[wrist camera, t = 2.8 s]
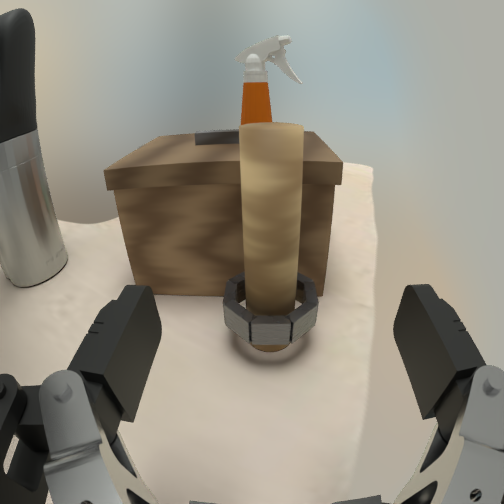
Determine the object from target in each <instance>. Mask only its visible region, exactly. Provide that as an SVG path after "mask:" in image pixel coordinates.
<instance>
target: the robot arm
mask: <svg viewBox="0 0 504 504" xmlns="http://www.w3.org/2000/svg"><path fill="white" fill-rule="evenodd" d="M34 67H35V28H34V23H33V19H32V17H31V15H30V13H29V12H28V11H27V10H25V9H22V8H21V9H15V10H12V11H9V12H7V13H4V14H2V15H0V264H1V266H2V269H3V271H4V273H5V276H6V278H10V279H11V282H12V283H13V284H14V285H16V286H19V287H27V286H32V285H35V284H38V283H41V282H43V281H45V280H47V279H49V278H50V277H52V276H54V275H55V274H56V273H57V272H59V271H60V270H61V269H62V268H63V266H64V265H65V264H66V262H67V259H68V255H67V251H66V248H65V245H64V242H63V239H62V235H61V232H60V228H59V225H58V221H57V218H56V214H55V211H54V207H53V203H52V199H51V195H50V191H49V187H48V183H47V178H46V173H45V168H44V163H43V158H42V153H41V147H40V142H39V136H38V130H37V122H36V99H35V98H36V97H35V77H34V73H35V68H34ZM393 332H394V338H395V341H396V344H397V346H398V349H399V352H400V354H401V357H402V359H403V363H404V365H405V368H406V371H407V374H408V376H409V379H410V382H411V385H412V388H413V391H414V394H415V397H416V400H417V403H418V406H419V409H420V412H421V415H422V419H423V420H424V419H429V418H433V417H436V419H437V422H438V423H437V424H436V425H435V427H434V429H433V431H432V434H431V436H430V439H429V441H428V444H427V446H426V448H425V451H424V453H423V455H422V457H421V460H420V462H419V464H418V466H417V468H416V470H415V472H414V474H413V476H412V477H411V479H410V481H409V482H408V483H407V484H406V486H405V487H404V488H403V489H402V491H401V492H400V494H399V495H398V496H397V498H396V500H395V502H394V503H393V504H500V503H501V504H504V372H503V371H502V370H501V369H499V368H498V367H495V366H491V365H486V363H485V361H484V360H483V358H482V356H481V354H480V352H479V350H478V349H477V347H476V345H475V344H474V342H473V340H472V338H471V336H470V335H469V333H468V332H467V331H466V328H465V326H464V325H463V323H462V322H460V318H459V317H458V315H457V313H456V312H455V310H454V309H453V308H452V307H451V306H450V305H449V304H448V303H447V302H445V301H444V300H443V299H439V298H438V296H437V294H436V293H435V291H434V290H433V288H432V287H431V286H430V285H429V284H421V285H408V286H406V288H405V290H404V293H403V296H402V299H401V302H400V306H399V309H398V312H397V315H396V318H395V321H394V328H393ZM161 334H162V326H161V321H160V317H159V313H158V310H157V306H156V302H155V299H154V295H153V291H152V289H151V287H150V286H143V285H126V286H125V287H124V289H123V291H122V292H121V294H120V296H119V297H118V299H117V300H112V301H110V302H109V303H108V304H107V305H106V306H105V307H103V308H102V309H101V310H100V312H99V313H98V315H97V317H96V318H95V320H94V324H92V325H91V327H90V329H89V330H88V334H86V336H85V337H84V339H83V341H82V343H81V345H80V346H79V348H78V350H77V352H76V354H75V356H74V357H73V359H72V361H71V363H70V365H69V367H68V368H67V370H61V371H57V372H55V373H53V374H51V375H50V376H48V377H47V378H46V379H45V380H44V382H43V383H42V385H36V386H20V385H19V383H18V382H17V381H16V379H15V378H14V377H13V376H12V375H9V374H0V504H45V502H46V498H47V494H48V490H49V492H50V495H51V498H52V501H53V504H159V503H158V501H157V500H156V498H155V497H154V495H153V494H152V493H151V491H150V490H149V489H148V487H147V486H146V485H145V483H144V482H143V480H142V478H141V476H140V475H139V473H138V471H137V469H136V467H135V465H134V463H133V461H132V458H131V456H130V454H129V452H128V450H127V448H126V446H125V444H124V441H123V439H122V437H121V434H120V432H119V431H118V427H119V424H120V421H121V420H122V421H127V422H134V419H135V416H136V412H137V409H138V406H139V403H140V400H141V397H142V393H143V390H144V387H145V384H146V381H147V378H148V375H149V372H150V369H151V366H152V363H153V360H154V357H155V354H156V352H157V349H158V346H159V343H160V340H161ZM13 435H15V436H16V437H17V438H18V439H19V441H18V444H17V447H16V450H15V452H14V455H13V458H12V461H11V464H10V467H9V470H8V473H7V474H5V472H4V468H3V463H4V459H5V457H6V454H7V451H8V448H9V446H10V443H11V440H12V438H13ZM189 504H215V503H205V502H197V501H190V502H189ZM332 504H389V503H382V502H381V496H380V495H377V496H372V497H367V498H361V499H354V500H348V501H340V502H335V503H332Z"/></svg>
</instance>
